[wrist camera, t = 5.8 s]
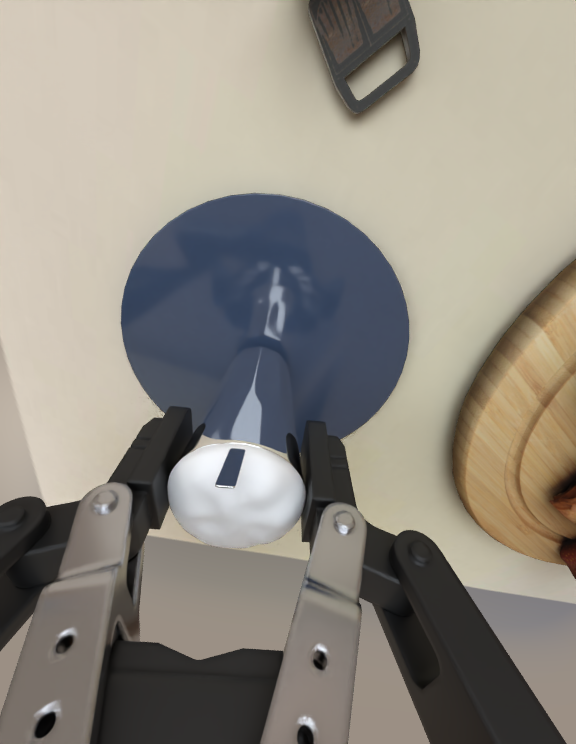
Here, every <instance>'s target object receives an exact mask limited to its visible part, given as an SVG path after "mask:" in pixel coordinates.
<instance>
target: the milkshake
mask: <svg viewBox="0 0 576 744" xmlns="http://www.w3.org/2000/svg"><path fill="white" fill-rule="evenodd" d="M167 491H168V500H169V504H170V508H171V510H172V513H173V515H174V516H175V518H176V520H177V521H178V522H179V524H180V525H181V526H182V527H183V528H184V530H186V531H187V532H188V533H189V534H191V535H193V536H194V537H196V538H197V539H199V540H201V541H202V542H204V543H206V544H208V545H210V546H213V547H220V548H248V547H252V546H255V545H258V544H268V543H271V542H273V541H275V540H278V539H280V538H281V537H282V536H284V535H285V534H286V533H287V532H288V531H289V530H291V529H292V528H293V527H294V525H295V524H296V523H297V521H298V520H299V518H300V516H301V514H302V512H303V509H304V505H305V500H306V490H305V486H304V480H303V473H302V467H301V460H300V454H299V448H298V441H297V434H296V427H295V418H294V409H293V400H292V391H291V382H290V374H289V367H288V365H287V364H286V362H285V361H284V359H283V358H282V356H281V355H280V353H278V352H276V351H273V350H271V349H268V348H266V347H264V346H258V347H252V348H247V349H243V350H242V351H241V352H240V353H239V354H238V355H237V357H236V358H235V359H234V360H233V361H232V362H231V364H230V366H229V368H228V369H227V371H226V373H225V375H224V377H223V379H222V381H221V383H220V385H219V387H218V389H217V390H216V392H215V394H214V396H213V398H212V400H211V402H210V404H209V406H208V408H207V410H206V412H205V414H204V416H203V417H202V419H201V421H200V423H199V424H198V426H197V428H196V430H195V431H194V433H193V435H192V437H191V438H190V440H189V442H188V444H187V445H186V447H185V449H184V450H183V452H182V454H181V456H180V457H179V459H178V461H177V463H176V464H175V466H174V468H173V469H172V471H171V473H170V476H169V479H168V485H167Z"/></svg>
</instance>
